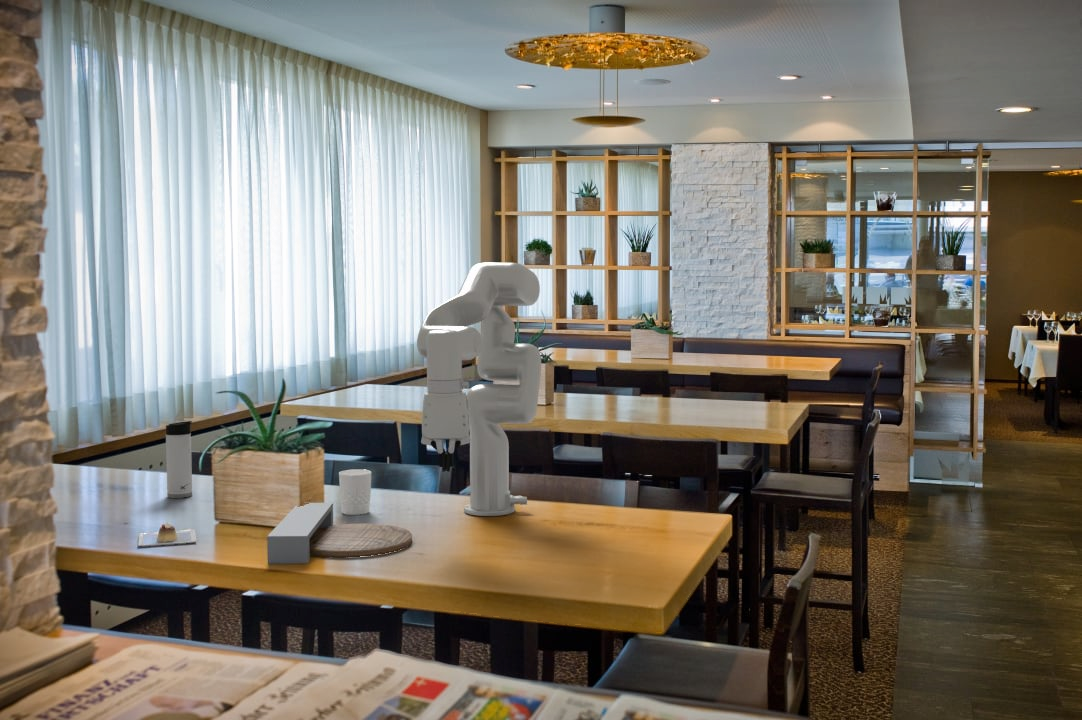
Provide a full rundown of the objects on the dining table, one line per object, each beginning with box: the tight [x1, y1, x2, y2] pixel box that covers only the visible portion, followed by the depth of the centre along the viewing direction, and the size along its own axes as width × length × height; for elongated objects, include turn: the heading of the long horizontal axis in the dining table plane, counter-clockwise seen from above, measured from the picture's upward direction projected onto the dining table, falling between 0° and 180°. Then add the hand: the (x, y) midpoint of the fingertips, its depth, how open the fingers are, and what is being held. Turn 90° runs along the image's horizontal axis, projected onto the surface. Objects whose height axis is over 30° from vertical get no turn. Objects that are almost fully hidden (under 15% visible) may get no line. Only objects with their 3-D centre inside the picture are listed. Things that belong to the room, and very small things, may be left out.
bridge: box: [266, 502, 334, 565], centre depth 239 cm, size 8×33×6 cm, turn 2°
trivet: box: [309, 523, 413, 559], centre depth 240 cm, size 25×25×2 cm
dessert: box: [137, 520, 198, 548], centre depth 243 cm, size 12×12×5 cm
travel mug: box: [165, 420, 193, 499], centre depth 290 cm, size 6×7×20 cm
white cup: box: [338, 469, 372, 516], centre depth 271 cm, size 8×8×10 cm
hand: (446, 470), depth 240 cm, fingers closed
